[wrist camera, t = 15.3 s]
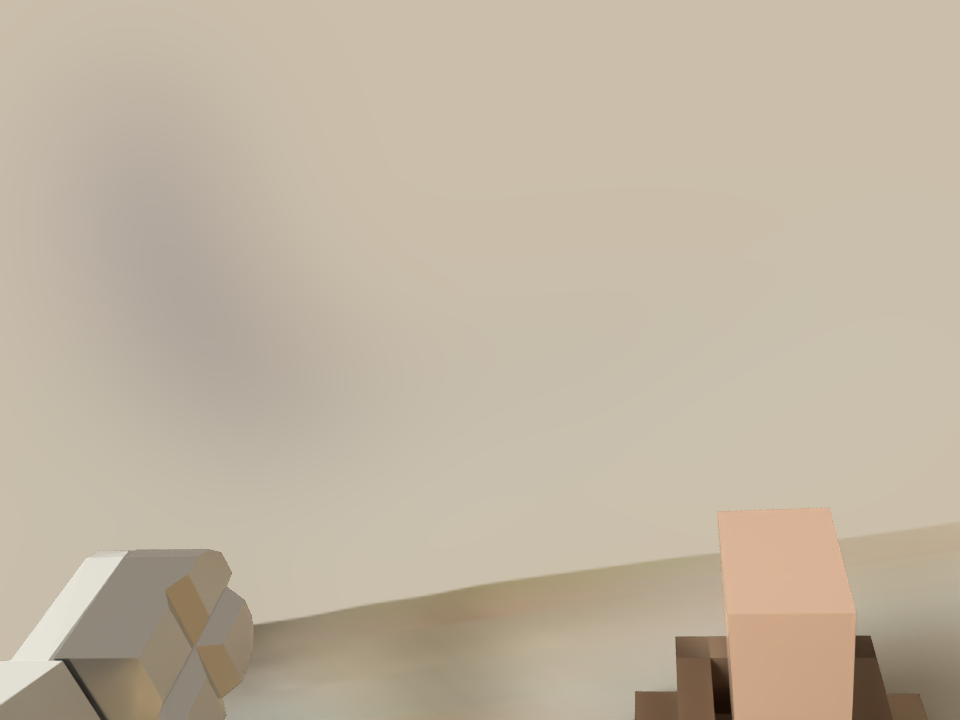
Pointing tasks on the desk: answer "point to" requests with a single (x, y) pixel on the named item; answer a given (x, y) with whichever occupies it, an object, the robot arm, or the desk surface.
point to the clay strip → (786, 615)
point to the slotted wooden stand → (706, 693)
